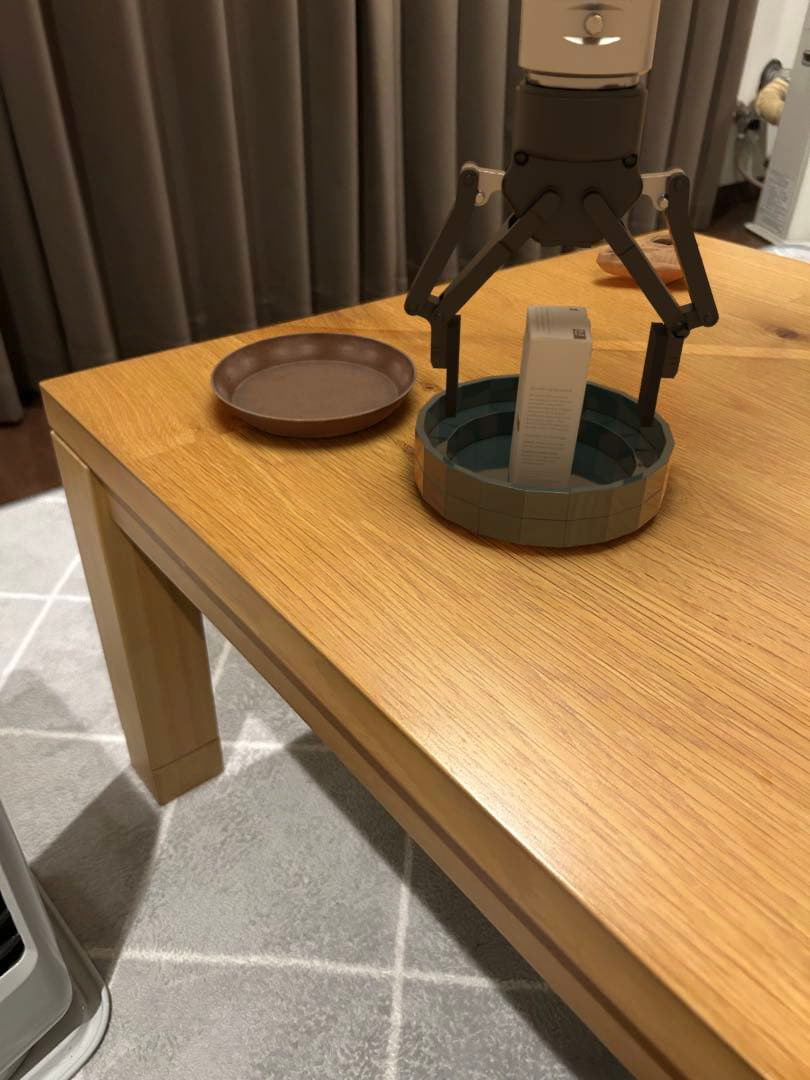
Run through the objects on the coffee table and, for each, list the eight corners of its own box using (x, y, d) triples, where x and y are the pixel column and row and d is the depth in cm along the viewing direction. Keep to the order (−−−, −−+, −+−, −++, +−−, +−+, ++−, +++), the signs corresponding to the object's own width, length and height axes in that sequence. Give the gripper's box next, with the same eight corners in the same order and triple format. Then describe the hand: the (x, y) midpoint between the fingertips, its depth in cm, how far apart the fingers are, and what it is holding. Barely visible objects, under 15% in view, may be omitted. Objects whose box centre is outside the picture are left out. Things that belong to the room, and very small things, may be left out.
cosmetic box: (508, 454, 67) (522, 301, 60) (566, 457, 67) (587, 304, 60) (509, 496, 62) (524, 334, 55) (572, 499, 62) (595, 337, 55)
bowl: (644, 435, 72) (655, 379, 69) (679, 565, 57) (694, 500, 54) (425, 423, 73) (426, 368, 70) (403, 547, 58) (403, 483, 55)
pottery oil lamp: (580, 269, 106) (600, 212, 105) (665, 302, 109) (686, 246, 108) (606, 265, 98) (629, 202, 97) (698, 300, 101) (721, 239, 99)
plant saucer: (359, 469, 67) (358, 434, 65) (171, 423, 73) (166, 390, 71) (447, 383, 80) (448, 351, 78) (282, 350, 86) (280, 320, 84)
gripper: (356, 83, 47) (365, 429, 59) (828, 91, 45) (738, 448, 57) (374, 66, 53) (379, 383, 66) (790, 72, 51) (716, 398, 64)
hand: (546, 414), depth 62 cm, fingers open, 13 cm apart
